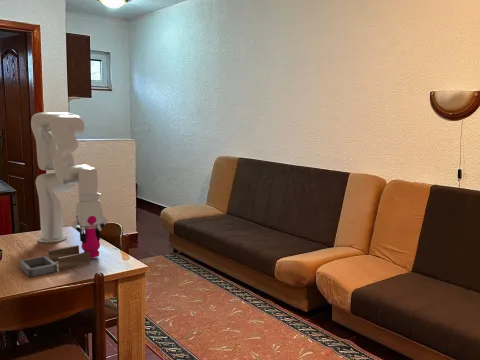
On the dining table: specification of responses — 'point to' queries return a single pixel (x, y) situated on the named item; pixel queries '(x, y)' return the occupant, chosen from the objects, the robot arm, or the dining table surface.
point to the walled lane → (69, 257)
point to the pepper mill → (91, 239)
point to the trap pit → (37, 266)
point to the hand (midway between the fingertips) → (90, 240)
